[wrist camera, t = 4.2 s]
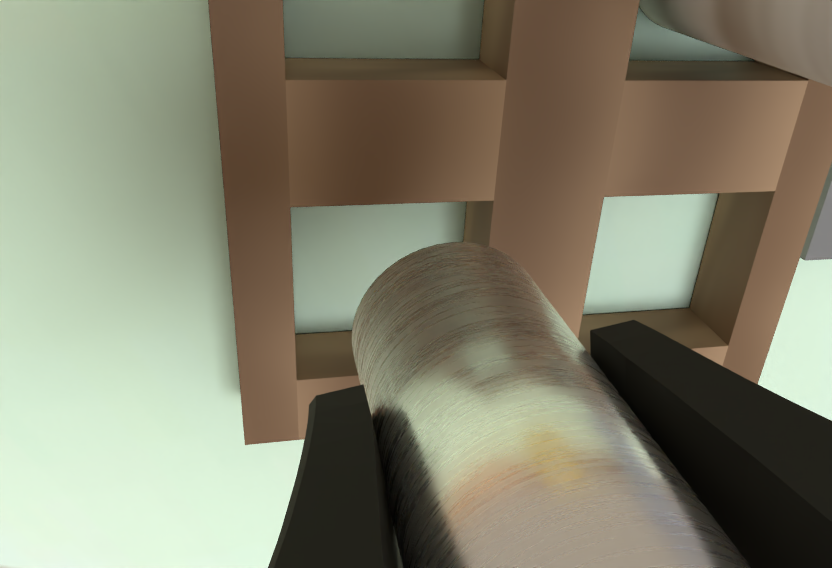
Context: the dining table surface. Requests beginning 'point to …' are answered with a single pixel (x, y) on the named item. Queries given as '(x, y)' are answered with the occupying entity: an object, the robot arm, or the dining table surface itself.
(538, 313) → the small grey canister
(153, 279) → the dining table surface
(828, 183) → the pattern tile
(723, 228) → the wooden grid tray
